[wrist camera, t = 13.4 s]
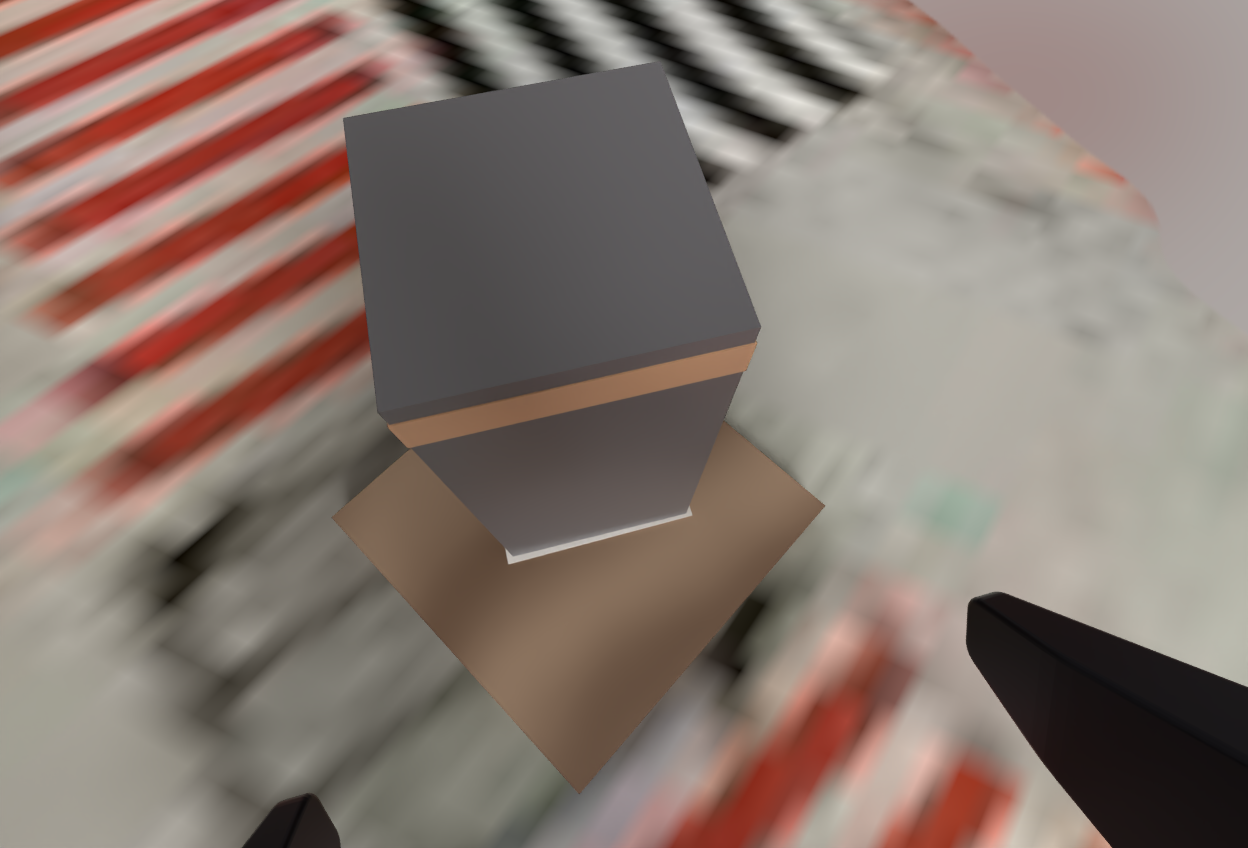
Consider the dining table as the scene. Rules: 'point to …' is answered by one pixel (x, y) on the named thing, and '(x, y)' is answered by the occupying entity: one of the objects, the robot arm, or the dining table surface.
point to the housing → (549, 300)
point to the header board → (582, 593)
